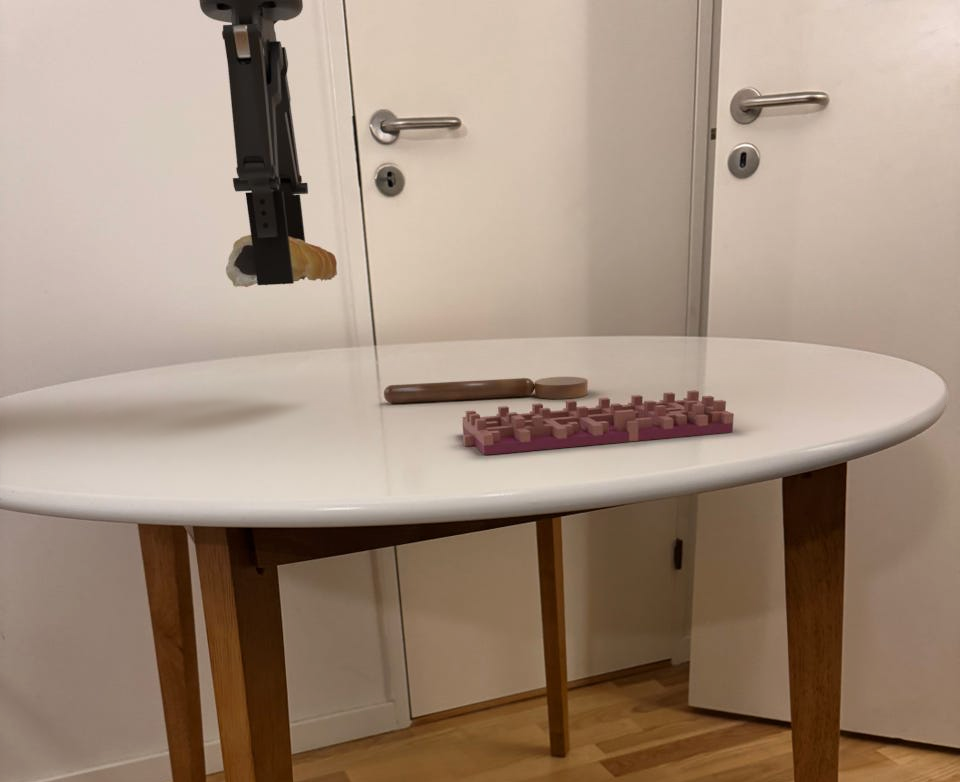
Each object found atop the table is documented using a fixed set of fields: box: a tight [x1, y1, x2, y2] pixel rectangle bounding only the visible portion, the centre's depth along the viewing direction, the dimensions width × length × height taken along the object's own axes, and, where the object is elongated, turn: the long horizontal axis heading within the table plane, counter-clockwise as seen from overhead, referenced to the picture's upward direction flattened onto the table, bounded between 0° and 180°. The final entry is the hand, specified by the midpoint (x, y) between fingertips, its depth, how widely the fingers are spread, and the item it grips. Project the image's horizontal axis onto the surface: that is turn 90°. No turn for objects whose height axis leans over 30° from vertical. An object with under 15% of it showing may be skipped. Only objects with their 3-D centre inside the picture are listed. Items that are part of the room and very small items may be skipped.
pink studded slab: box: [461, 390, 735, 456], centre depth 68 cm, size 7×19×2 cm, turn 103°
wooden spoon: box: [383, 376, 589, 404], centre depth 84 cm, size 18×5×2 cm, turn 93°
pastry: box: [225, 234, 338, 288], centre depth 77 cm, size 9×7×4 cm
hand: (284, 280), depth 77 cm, fingers closed on pastry, 9 cm apart
